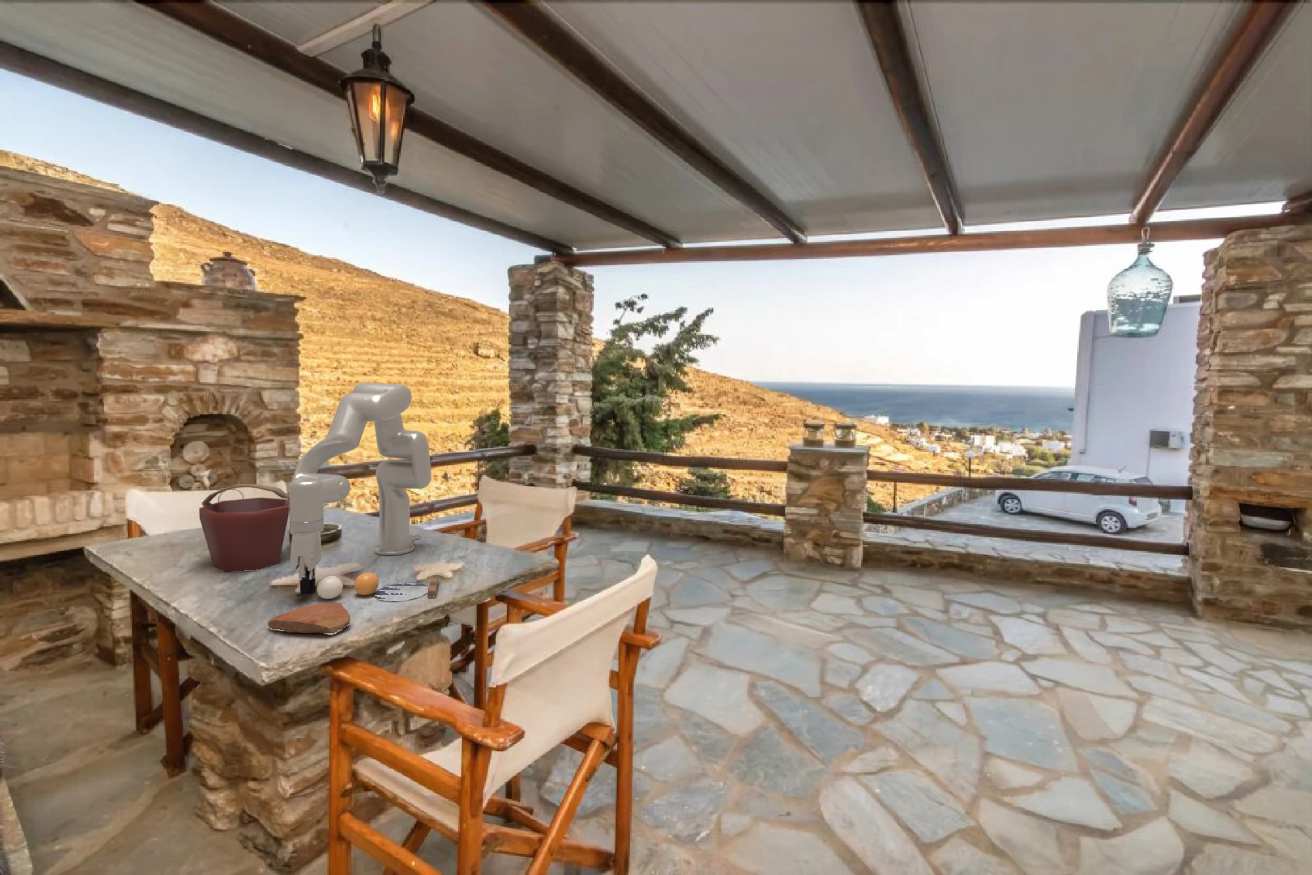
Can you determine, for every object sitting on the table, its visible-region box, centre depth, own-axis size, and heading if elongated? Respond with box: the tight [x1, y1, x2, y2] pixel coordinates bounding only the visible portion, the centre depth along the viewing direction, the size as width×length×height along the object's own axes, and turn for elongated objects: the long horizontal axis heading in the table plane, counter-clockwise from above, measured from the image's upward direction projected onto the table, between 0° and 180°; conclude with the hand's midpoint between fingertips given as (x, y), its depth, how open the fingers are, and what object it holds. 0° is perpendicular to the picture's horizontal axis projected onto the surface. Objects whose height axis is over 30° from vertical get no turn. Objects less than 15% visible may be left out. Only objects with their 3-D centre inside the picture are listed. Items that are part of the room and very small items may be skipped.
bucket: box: [198, 483, 290, 573], centre depth 168 cm, size 24×22×25 cm
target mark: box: [373, 582, 428, 600], centre depth 152 cm, size 14×14×1 cm
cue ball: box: [316, 575, 344, 600], centre depth 145 cm, size 6×6×6 cm
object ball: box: [353, 572, 380, 596], centre depth 149 cm, size 6×6×6 cm
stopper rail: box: [427, 575, 440, 598], centre depth 154 cm, size 12×2×2 cm, turn 18°
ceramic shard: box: [267, 601, 351, 634], centre depth 128 cm, size 15×6×15 cm
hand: (307, 592), depth 145 cm, fingers closed
